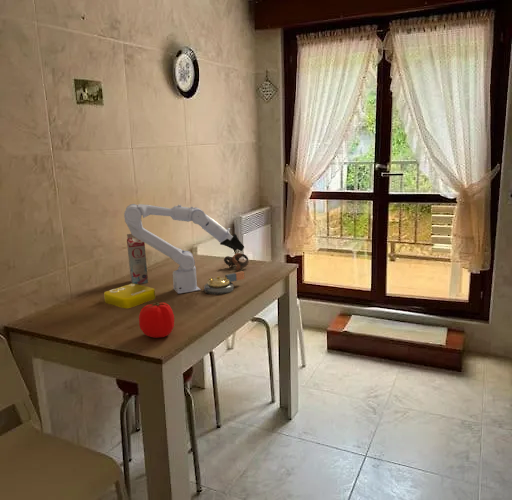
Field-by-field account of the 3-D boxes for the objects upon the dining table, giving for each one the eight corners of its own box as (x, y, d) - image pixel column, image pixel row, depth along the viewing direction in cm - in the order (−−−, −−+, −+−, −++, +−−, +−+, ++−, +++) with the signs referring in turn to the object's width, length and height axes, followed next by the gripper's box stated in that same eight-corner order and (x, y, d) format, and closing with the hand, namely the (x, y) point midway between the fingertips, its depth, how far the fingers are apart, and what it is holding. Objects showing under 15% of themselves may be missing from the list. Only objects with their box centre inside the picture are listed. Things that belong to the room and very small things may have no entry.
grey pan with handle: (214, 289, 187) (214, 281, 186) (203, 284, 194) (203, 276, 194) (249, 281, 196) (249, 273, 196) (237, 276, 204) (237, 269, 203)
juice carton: (148, 282, 207) (143, 233, 202) (132, 284, 204) (127, 235, 199) (145, 278, 213) (141, 231, 208) (130, 280, 210) (126, 232, 205)
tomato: (163, 344, 143) (160, 310, 140) (132, 340, 147) (129, 306, 144) (183, 330, 154) (181, 297, 151) (153, 326, 158) (151, 294, 155)
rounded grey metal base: (210, 296, 186) (209, 291, 186) (200, 288, 197) (200, 283, 196) (238, 291, 191) (237, 286, 190) (227, 283, 201) (227, 279, 201)
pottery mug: (247, 265, 231) (250, 253, 226) (245, 278, 224) (249, 266, 219) (223, 260, 230) (226, 248, 225) (220, 273, 223) (223, 261, 218)
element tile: (126, 310, 175) (125, 298, 174) (102, 302, 184) (101, 291, 183) (157, 299, 186) (156, 287, 185) (133, 292, 195) (132, 281, 194)
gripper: (225, 220, 186) (251, 241, 190) (215, 222, 200) (239, 240, 204) (215, 235, 185) (241, 255, 189) (206, 235, 198) (230, 254, 202)
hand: (239, 248), depth 196 cm, fingers open, 7 cm apart
